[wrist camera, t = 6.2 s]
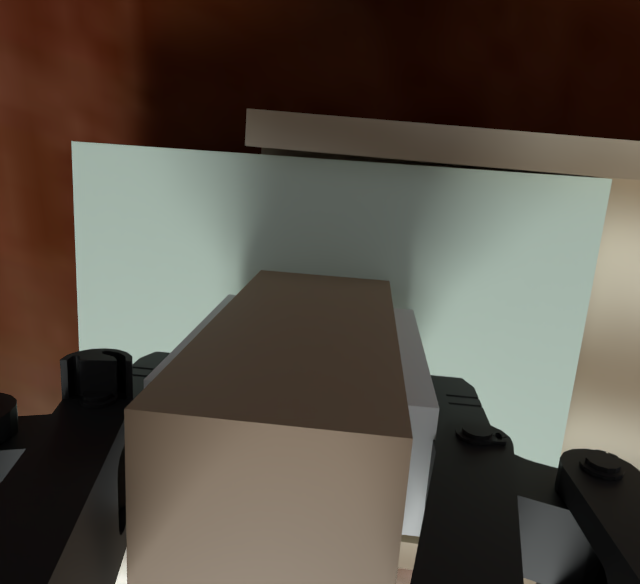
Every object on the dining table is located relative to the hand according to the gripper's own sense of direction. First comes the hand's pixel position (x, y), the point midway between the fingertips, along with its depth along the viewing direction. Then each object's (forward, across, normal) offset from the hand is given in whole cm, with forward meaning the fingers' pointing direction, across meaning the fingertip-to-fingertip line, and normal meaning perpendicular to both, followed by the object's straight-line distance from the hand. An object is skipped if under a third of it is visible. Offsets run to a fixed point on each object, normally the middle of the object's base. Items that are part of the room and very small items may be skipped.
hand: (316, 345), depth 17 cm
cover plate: (+3, 0, 0) cm, 3 cm away
